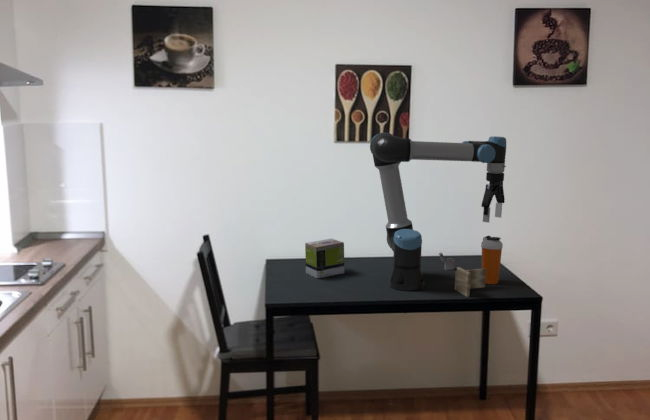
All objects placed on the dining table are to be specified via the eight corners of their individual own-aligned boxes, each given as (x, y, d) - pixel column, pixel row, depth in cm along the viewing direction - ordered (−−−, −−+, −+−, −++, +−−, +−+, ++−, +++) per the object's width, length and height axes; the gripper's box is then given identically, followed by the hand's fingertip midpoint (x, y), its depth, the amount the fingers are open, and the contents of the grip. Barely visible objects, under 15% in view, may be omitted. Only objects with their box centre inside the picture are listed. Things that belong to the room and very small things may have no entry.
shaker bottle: (497, 286, 274) (499, 240, 271) (476, 282, 279) (478, 237, 275) (503, 280, 282) (505, 236, 278) (483, 277, 287) (485, 233, 283)
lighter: (453, 268, 300) (453, 252, 299) (454, 269, 299) (454, 252, 297) (438, 268, 300) (438, 252, 298) (439, 269, 298) (439, 253, 297)
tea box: (332, 268, 300) (332, 237, 297) (344, 273, 292) (345, 242, 289) (304, 273, 292) (304, 241, 289) (316, 279, 284) (316, 246, 281)
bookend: (466, 296, 260) (468, 273, 258) (454, 289, 270) (455, 266, 268) (497, 293, 265) (498, 270, 263) (483, 286, 274) (485, 263, 272)
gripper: (492, 175, 270) (488, 225, 274) (514, 170, 289) (510, 216, 293) (475, 174, 274) (472, 222, 278) (498, 168, 294) (494, 214, 298)
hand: (492, 219), depth 286 cm, fingers open, 13 cm apart
